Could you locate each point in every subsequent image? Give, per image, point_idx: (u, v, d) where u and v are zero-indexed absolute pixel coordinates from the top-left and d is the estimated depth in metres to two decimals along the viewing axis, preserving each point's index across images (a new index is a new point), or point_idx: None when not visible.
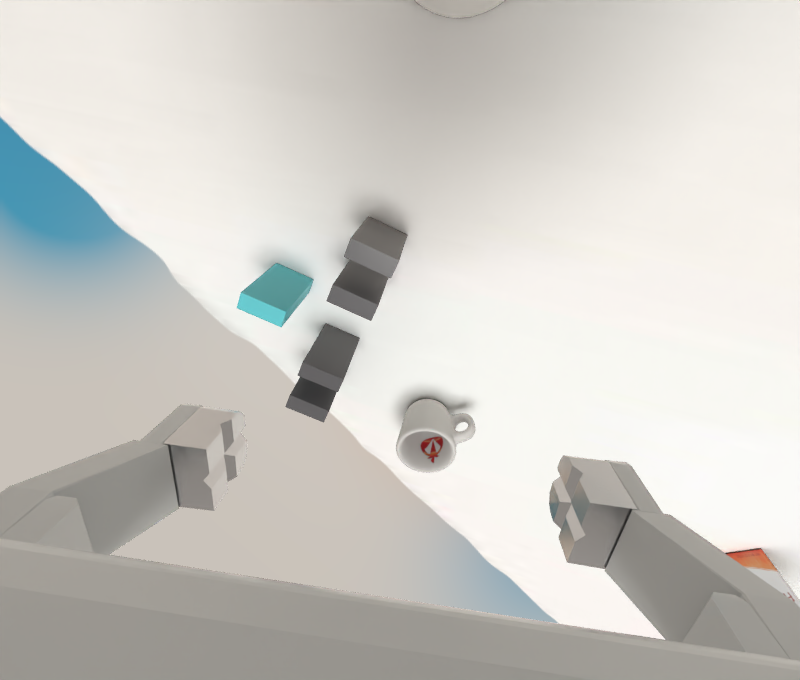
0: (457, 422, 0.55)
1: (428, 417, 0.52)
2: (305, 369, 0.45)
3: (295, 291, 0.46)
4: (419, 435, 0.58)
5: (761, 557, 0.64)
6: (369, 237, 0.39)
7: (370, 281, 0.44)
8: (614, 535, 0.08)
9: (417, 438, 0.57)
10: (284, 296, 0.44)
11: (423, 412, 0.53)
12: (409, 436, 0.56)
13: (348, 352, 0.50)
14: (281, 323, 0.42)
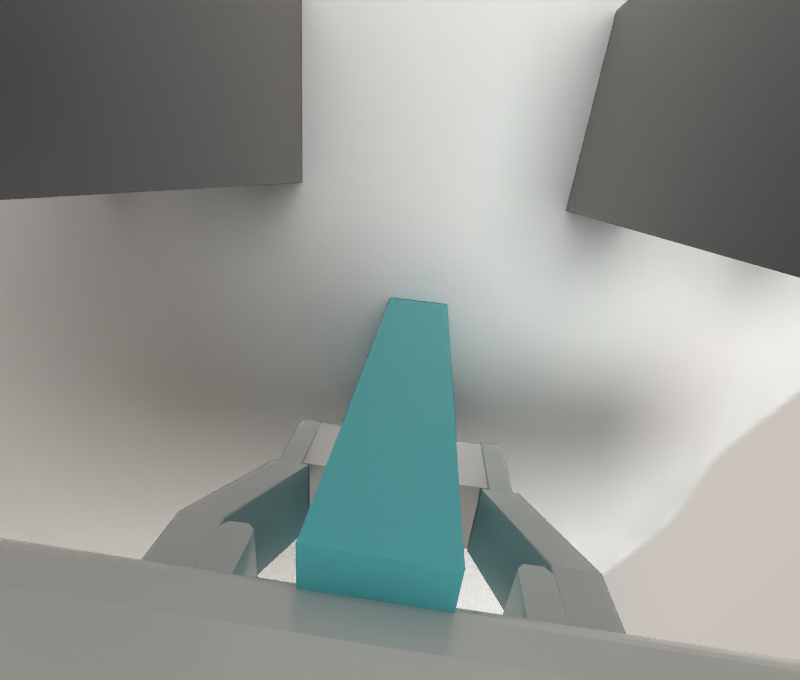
0: None
1: None
2: None
3: None
4: None
5: None
6: None
7: None
8: (470, 515, 0.08)
9: None
10: None
11: None
12: None
13: None
14: (426, 566, 0.05)
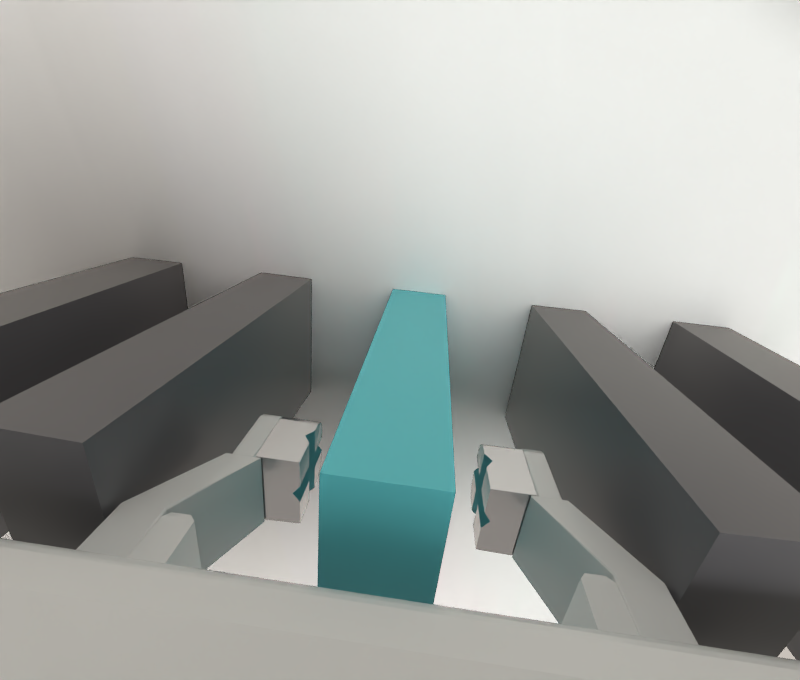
0: None
1: None
2: None
3: None
4: None
5: None
6: None
7: None
8: (517, 521, 0.08)
9: None
10: None
11: None
12: None
13: (567, 378, 0.11)
14: (424, 491, 0.06)
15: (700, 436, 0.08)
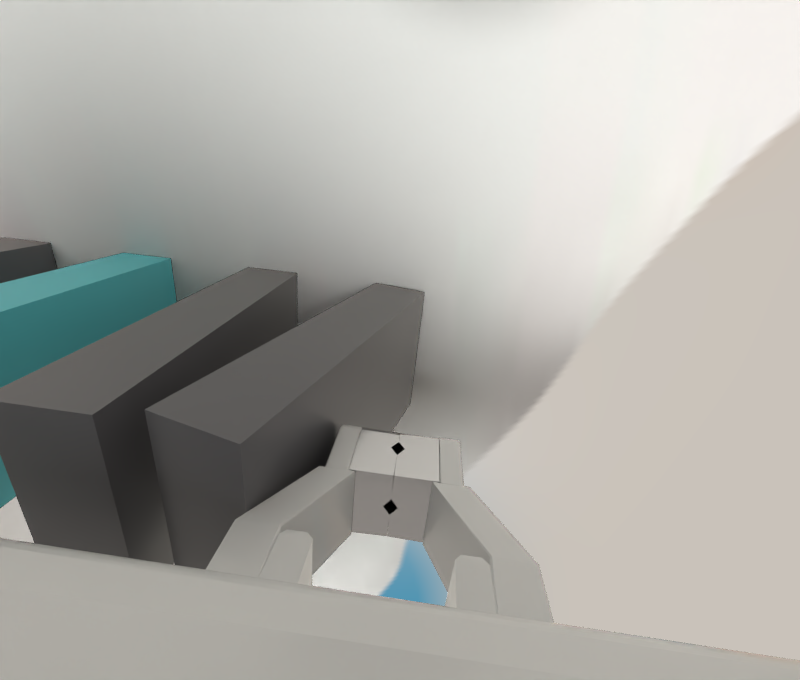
0: None
1: None
2: None
3: None
4: None
5: None
6: None
7: None
8: (423, 508, 0.08)
9: None
10: None
11: None
12: None
13: None
14: None
15: (148, 349, 0.09)
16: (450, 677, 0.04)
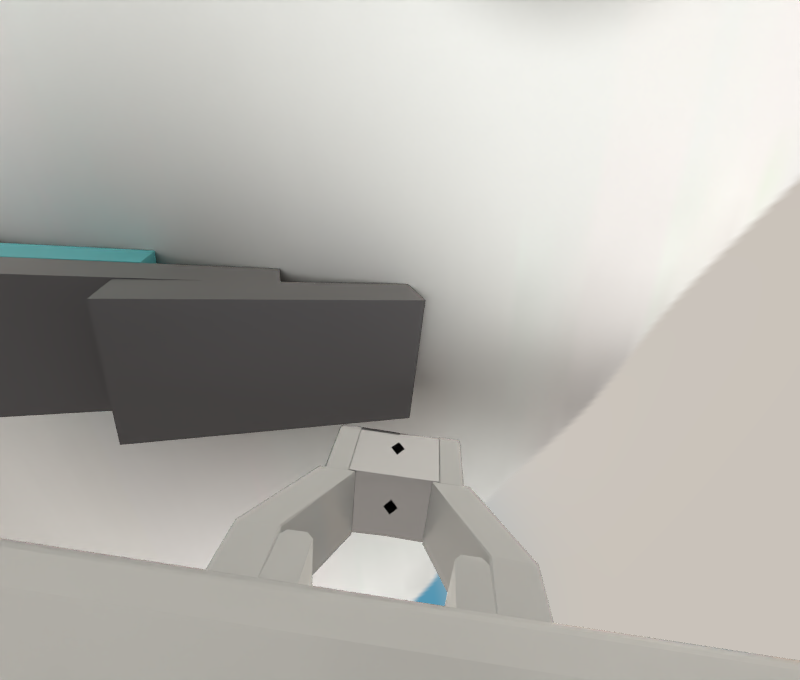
0: None
1: None
2: None
3: None
4: None
5: None
6: None
7: None
8: (423, 508, 0.08)
9: None
10: None
11: None
12: None
13: None
14: None
15: (26, 268, 0.12)
16: (450, 677, 0.04)
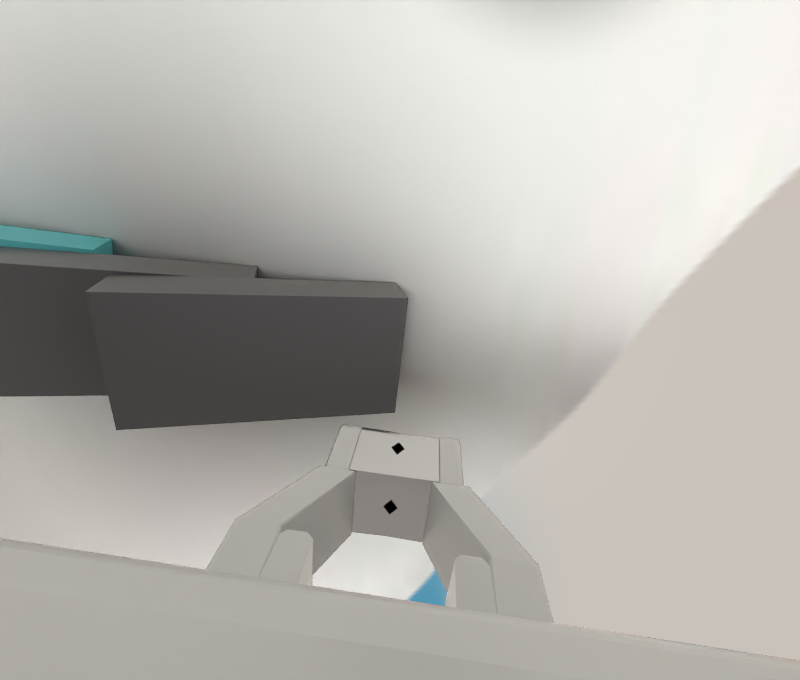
0: None
1: None
2: None
3: None
4: None
5: None
6: None
7: None
8: (423, 508, 0.08)
9: None
10: None
11: None
12: None
13: None
14: None
15: (10, 257, 0.13)
16: (450, 677, 0.04)
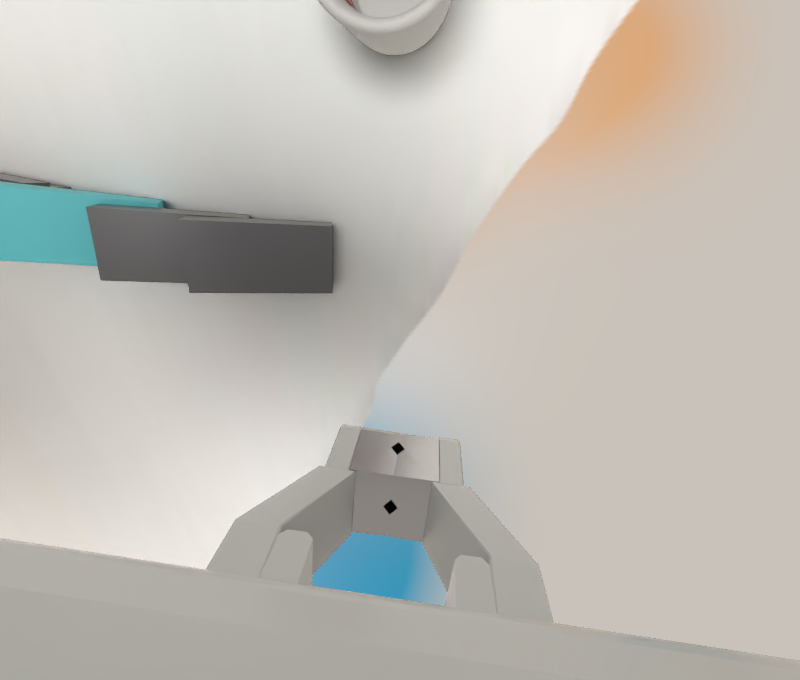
0: None
1: None
2: None
3: None
4: None
5: None
6: None
7: None
8: (423, 508, 0.08)
9: None
10: None
11: None
12: None
13: None
14: None
15: (130, 208, 0.27)
16: (450, 677, 0.04)
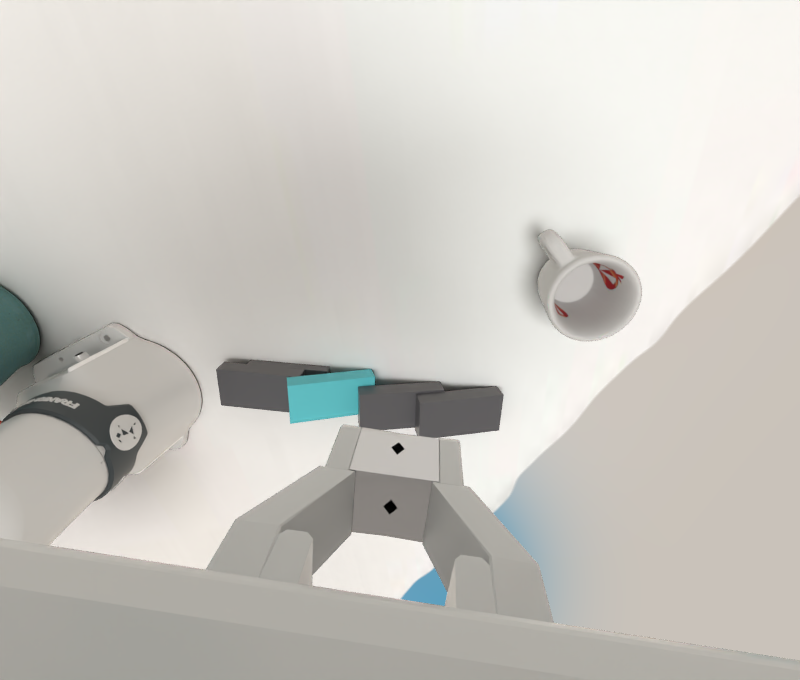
0: None
1: (543, 302, 0.37)
2: (358, 421, 0.47)
3: None
4: (599, 287, 0.39)
5: None
6: None
7: None
8: (423, 508, 0.08)
9: (601, 291, 0.39)
10: None
11: (543, 305, 0.39)
12: (595, 308, 0.38)
13: None
14: (287, 384, 0.44)
15: (379, 390, 0.45)
16: (450, 677, 0.04)
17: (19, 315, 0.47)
